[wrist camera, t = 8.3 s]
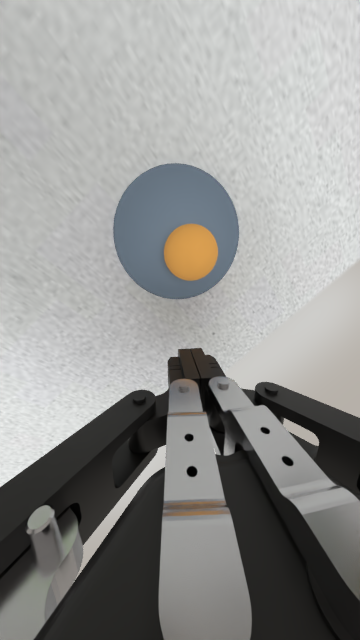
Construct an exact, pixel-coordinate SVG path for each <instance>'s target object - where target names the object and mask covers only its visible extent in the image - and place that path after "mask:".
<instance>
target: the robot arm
mask: <svg viewBox="0 0 360 640" xmlns="http://www.w3.org/2000/svg"><path fill="white" fill-rule="evenodd" d="M168 385H169V389H168V390H167V391H166V392H165V393H163V394H161V395H158V396H155V395H154V394H153V393H152V392H150V391H147V390H137V391H134V392H132V393H130V394H128V395H127V396H125V397H124V398H123V399H121V400H120V401H118V402H117V403H116V404H114V405H113V406H112V407H110V408H109V409H107V410H106V411H105V412H103V413H102V414H101V415H99V416H98V417H96V418H95V419H94V420H92V421H91V422H90V423H88V424H87V425H85V426H84V427H83V428H81V429H80V430H79V431H77V432H76V433H74V434H73V435H72V436H70V437H69V438H67V439H66V440H65V441H63V442H62V443H61V444H59V445H58V446H56V447H55V448H54V449H52V450H51V451H50V452H48V453H47V454H45V455H44V456H43V457H41V458H40V459H39V460H37V461H36V462H34V463H33V464H32V465H30V466H29V467H28V468H26V469H25V470H23V471H22V472H21V473H19V474H18V475H17V476H15V477H14V478H12V479H11V480H10V481H8V482H7V483H5V484H4V485H3V486H1V487H0V640H360V418H358V417H356V416H353V415H351V414H348V413H346V412H343V411H341V410H339V409H336V408H334V407H331V406H329V405H326V404H324V403H321V402H319V401H316V400H314V399H311V398H309V397H307V396H304V395H302V394H299V393H297V392H294V391H292V390H289V389H287V388H284V387H282V386H279V385H277V384H274V383H269V382H261V383H258V384H257V385H256V387H255V391H254V390H246V389H241V388H240V387H239V386H238V384H237V383H236V382H235V381H234V380H232V379H230V378H228V377H226V376H225V374H224V373H223V371H222V369H221V368H220V366H219V364H218V362H217V361H216V359H215V358H214V357H212V356H211V355H205V354H204V352H203V350H202V348H194V349H178V357H170V359H169V360H168ZM284 418H286V419H288V420H290V421H292V422H294V423H296V424H298V425H300V426H302V427H304V428H305V429H308V430H309V431H311V432H313V433H314V434H315V435H316V436H317V437H318V439H319V446H315V445H312V444H311V443H309V442H307V441H305V440H303V439H301V438H299V437H298V436H296V435H294V434H292V433H290V432H289V431H287V430H286V428H285V427H284V426H283V421H284ZM164 445H166V463H165V467H164V468H162V469H161V470H159V471H158V472H156V473H155V474H153V475H152V476H151V477H150V478H149V479H148V480H147V481H146V482H145V483H144V485H143V486H142V487H141V488H140V489H139V491H138V492H137V494H136V495H135V497H134V498H133V499H132V501H131V502H130V504H129V505H128V507H127V508H126V509H125V511H124V512H123V513H122V515H121V516H120V518H119V519H118V521H117V522H116V524H115V525H114V527H113V528H112V529H111V530H110V532H109V533H108V535H107V536H106V538H105V539H104V540H103V542H102V543H101V545H100V546H99V548H98V549H97V551H96V552H95V553H94V555H93V556H92V558H91V559H90V560H89V562H88V563H87V565H86V566H85V568H84V569H83V570H82V572H81V573H80V575H79V576H78V577H77V579H76V580H75V578H76V576H77V574H78V572H79V570H80V567H81V563H82V559H83V545H84V543H85V542H86V541H87V540H88V538H89V537H90V536H91V535H92V533H93V532H94V531H95V530H96V528H97V527H98V526H99V525H100V524H101V522H102V521H103V520H104V518H105V517H106V516H107V515H108V514H109V512H110V511H111V510H112V509H113V507H114V506H115V505H116V503H117V502H118V501H119V500H120V499H121V497H122V496H123V495H124V493H125V492H126V491H127V490H128V489H129V487H130V486H131V485H132V484H133V482H134V481H135V480H136V479H137V477H138V476H139V475H140V474H141V472H142V471H143V470H144V469H145V467H146V466H147V465H148V464H149V462H150V461H151V460H152V459H153V458H154V456H155V455H156V453H157V450H158V448H159V447H161V446H164ZM214 449H215V452H216V454H215V452H214ZM74 580H75V582H74ZM73 582H74V583H73ZM71 585H72V586H71ZM69 588H70V589H69Z"/></svg>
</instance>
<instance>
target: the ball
mask: <svg viewBox="0 0 360 640" xmlns="http://www.w3.org/2000/svg"><path fill="white" fill-rule="evenodd" d="M217 257H218V246H217V243H216V240H215V238H214V236H213V235H212V233H211V232H210V231H209V230H208V229H206V228H205V227H203V226H201V225H198V224H185V225H182V226H180V227H178V228H176V229H175V230H174V231H173V232H172V233H171V234H170V235H169V237H168V238H167V241H166V243H165V246H164V259H165V262H166V265H167V267H168V268H169V270H170V271H171V272H172V273H173V274H174V275H175V276H176V277H178V278H180V279H183V280H187V281H194V280H198V279H201V278H203V277H205V276H206V275H207V274H209V273H210V272H211V270H212V269H213V267H214V266H215V264H216V261H217Z"/></svg>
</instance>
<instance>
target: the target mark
mask: <svg viewBox="0 0 360 640" xmlns="http://www.w3.org/2000/svg"><path fill="white" fill-rule="evenodd" d="M185 224H198V225H201V226H203V227H205V228H206V229H208V230H209V231H210V232H211V233H212V235H213V236H214V238H215V240H216V243H217V246H218V257H217V261H216V264H215V266H214V267H213V269H212V270H211V272H210V273H209V274H207V275H206V276H205V277H203V278H201V279H198V280H194V281H187V280H183V279H180V278H178V277H176V276H175V275H174V274H173V273H172V272H171V271H170V270H169V268H168V267H167V265H166V262H165V259H164V246H165V243H166V241H167V238H168V237H169V235H170V234H171V233H172V232H173V231H174V230H175V229H176V228H178V227H180V226H182V225H185ZM113 229H114V242H115V247H116V251H117V254H118V257H119V259H120V261H121V263H122V265H123V267H124V269H125V270H126V272H127V273H128V274H129V276H130V277H131V278H132V279H133V280H134V281H135V282H136V283H137V284H138V285H140V286H141V287H142V288H144V289H145V290H147V291H148V292H150V293H153V294H155V295H157V296H161V297H164V298H170V299H184V298H190V297H194V296H197V295H199V294H202V293H204V292H206V291H207V290H209V289H210V288H212V287H213V286H214V285H216V284H217V283H218V282H219V281H220V280H221V279H222V277H223V276H224V275H225V274H226V272H227V271H228V269H229V268H230V266H231V264H232V262H233V259H234V257H235V254H236V250H237V246H238V238H239V226H238V219H237V214H236V210H235V208H234V205H233V203H232V201H231V199H230V197H229V195H228V193H227V192H226V191H225V189H224V188H223V186H222V185H221V184H220V183H219V182H218V181H217V180H216V179H215V178H213V177H212V176H211V175H210V174H208V173H206V172H205V171H203V170H201V169H199V168H196V167H194V166H190V165H186V164H177V163H176V164H165V165H160V166H157V167H154V168H152V169H150V170H148V171H146V172H144V173H142V174H141V175H140V176H139V177H137V178H136V179H135V180H134V181H133V182H132V183H131V184H130V185H129V186H128V188H127V189H126V191H125V192H124V194H123V195H122V197H121V199H120V201H119V204H118V207H117V209H116V214H115V218H114V228H113Z"/></svg>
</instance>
